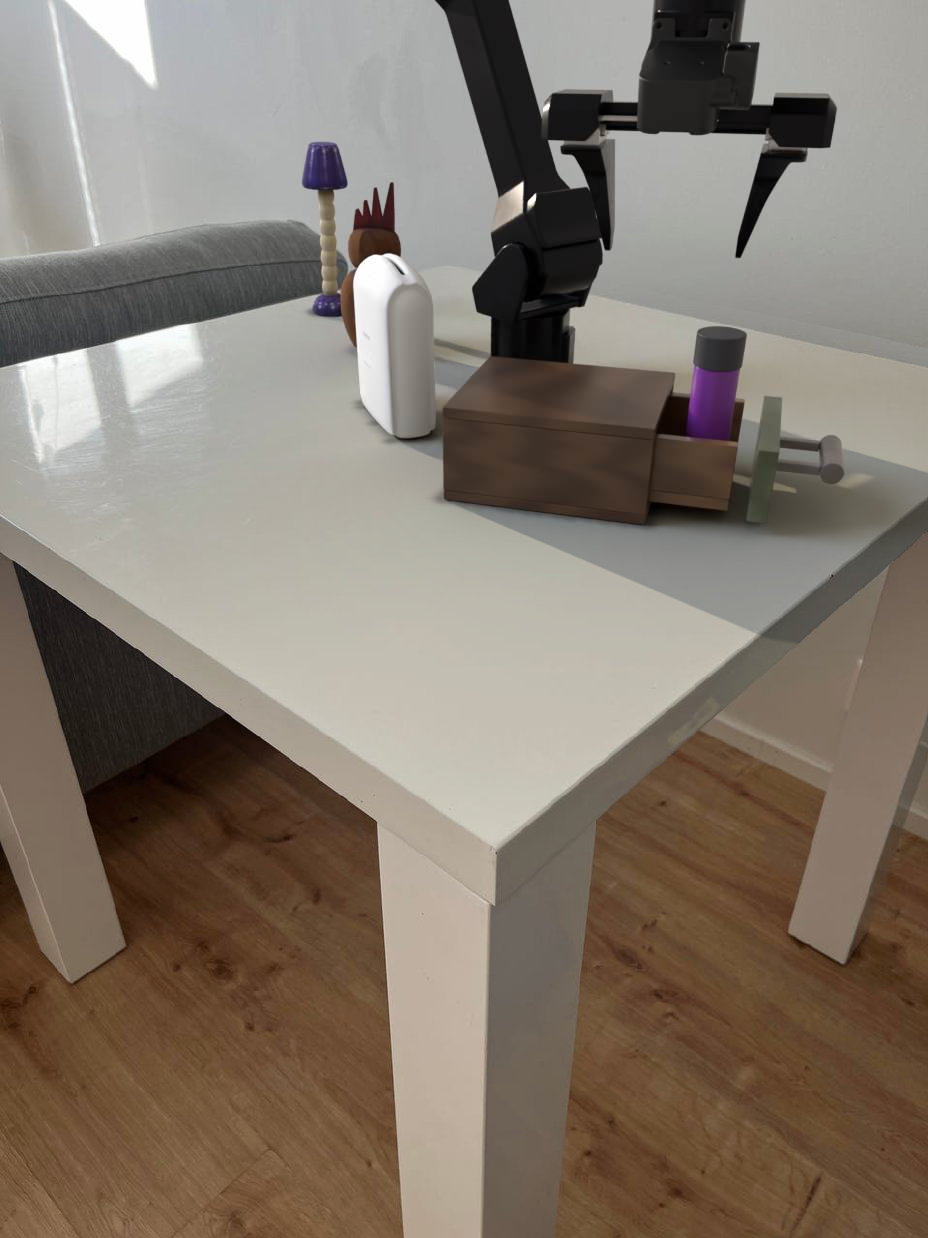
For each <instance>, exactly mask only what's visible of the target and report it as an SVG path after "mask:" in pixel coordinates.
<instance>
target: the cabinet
mask: <svg viewBox="0 0 928 1238" xmlns="http://www.w3.org/2000/svg"><path fill="white" fill-rule="evenodd" d="M675 379H676V372H673V371H661V370H652V369H651V370H649V369H637V368H628V367H627V368H625V367H617V366H616V367H615V366H604V365H593V364H581V363H573V364H572V363H561V362H549V361H538V360H527V359H515V358H504V357H493V356H491V355H490V356H488V358H487V359H486V360H485V361H484V362H483V363H482V364H481V365H480V366H479V367H478V369H477V370H476V371H474V373H473V374H472V375H471V376H470V377H469V378H468V379H467V381H466V382H465V383H464V384H463V385H462V386H461V387H460V388H459V389H458V390H457V391H456V393H455V394H453V395H452V397H451V398H450V399H449V400H448V401H447V402H445V404H444V405H443V406H442V408H441V409H442V482H443V483H442V484H443V485H442V487H443V488H442V489H443V500H448V501H453V502H454V501H455V502H463V503H470V504H479V505H486V506H494V507H501V508H510V509H517V510H524V511H525V510H526V511H533V512H540V513H541V512H542V513H549V514H555V515H564V516H572V517H573V516H574V517H580V518H587V519H588V518H589V519H595V520H603V521H613V522H618V523H626V524H627V523H628V524H634V525H642V526H643V525H645V524H646V520H647V518H648V515H649V511H650V508H651V505H652V502H650V501H648V496H649V487H650V478H651V469H652V460H653V451H654V442H655V435H656V432H657V429H658V426H659V424H660V421H661V418H662V415H663V412H664V410H665V407H666V404H667V401H668V398H669V395H670V393H671V392H674V390H675V389H674V388H675Z"/></svg>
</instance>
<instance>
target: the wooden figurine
mask: <svg viewBox="0 0 928 1238" xmlns="http://www.w3.org/2000/svg"><path fill="white" fill-rule="evenodd" d="M362 204H363V205H362V212H361V210H360V208H356V209H355V210H354V216H353V224H352V225H353V226H352V232H351V233H350V234H349V238H348V241H347V254H348V258H349V261H350V263H351V265H352V266H353V267H354V269H351V270H350V271H349V273H348V274H347V275H346V276H345V278H344V279H343V281H342V284H341V287H340V294H341V312H342V315H341V317H342V321H343V325H344V328H345V331H346V333H347V336H348V338H349V340H350V341H351V343H352V344H351V345H353V347H354V348H356V349H357V337H356V322H355V304H354V288H353V283H354V276H355V273H356V271H357V269H358V267H359V265H360V264H361V263H362V262H363V261H364V260H365V259H367V258H368V257H370V256H372V255H384V254H394V255H397V256H399V257H401V258H402V244H401V243H402V242H401V240H400V237H399V235H398V234H397V232H396V212H395V211H396V209H395V183H394V182H393V181H391V182H389V185H388V190H387V195H386V199H385V204H384V208H383V211H382V206H381V205H382V204H381V199H380V195H379V190H378V187H376V186H375V187H373V190H372V202H371V209H370V205H369V202H368V199H364V200H363V202H362Z"/></svg>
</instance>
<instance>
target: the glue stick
mask: <svg viewBox="0 0 928 1238" xmlns="http://www.w3.org/2000/svg"><path fill="white" fill-rule="evenodd" d="M747 337H748V333H747V332H746V331H745V330H742V329H740V328H737V327H732V326H723V325H722V326H721V325H712V326H711V325H710V326H705V327H701V328H699V329H698V330H697V331H696V336H695V344H694V351H693V360H692V363H693V365H694V366H693V373H692V380H691V388H690V394H691V395H690V403H689V411H688V419H687V426H686V434H685V437H693V438H702V439H712V440H721V441H729V437H730V431H731V424H732V418H733V411H734V405H735V398H736V397H737V393H738V392H737V391H738V386H739V385H738V384H739V378H740V371H741V368H742V367H743V365H744V363H743V362H744V358H745V357H744V356H745V351H746V343H747Z"/></svg>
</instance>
